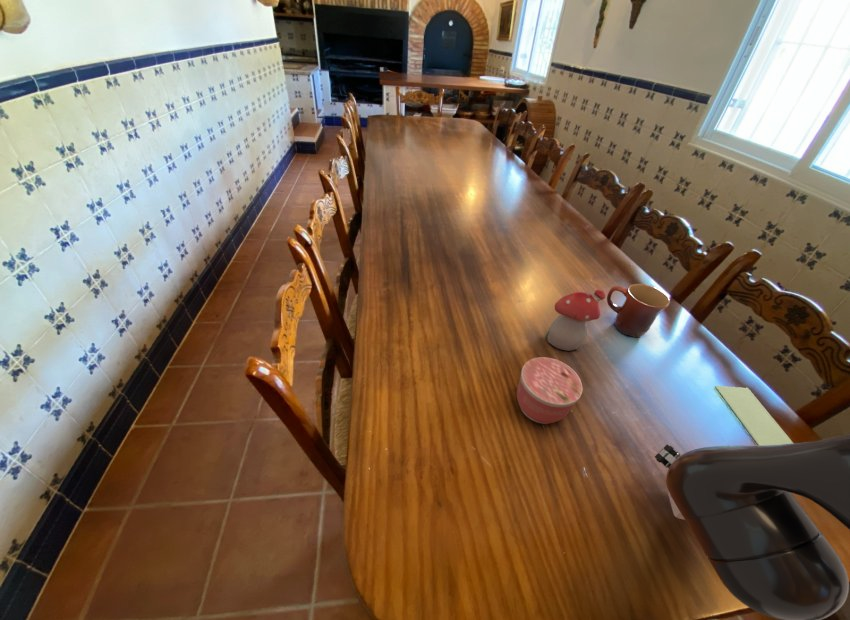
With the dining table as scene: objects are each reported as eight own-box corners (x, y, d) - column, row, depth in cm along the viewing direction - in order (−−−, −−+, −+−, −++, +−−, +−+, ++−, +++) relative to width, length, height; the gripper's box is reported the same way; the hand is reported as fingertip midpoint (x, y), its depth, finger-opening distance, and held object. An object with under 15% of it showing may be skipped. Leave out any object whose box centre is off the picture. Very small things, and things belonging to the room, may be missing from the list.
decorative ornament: (584, 339, 83) (610, 287, 73) (583, 358, 78) (611, 305, 68) (543, 327, 85) (563, 275, 75) (540, 346, 80) (562, 293, 70)
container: (537, 440, 62) (551, 414, 57) (500, 395, 69) (509, 368, 64) (579, 416, 66) (595, 390, 61) (540, 376, 73) (552, 349, 68)
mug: (651, 326, 88) (672, 293, 81) (644, 346, 82) (667, 313, 75) (601, 306, 93) (617, 274, 86) (592, 324, 87) (609, 290, 80)
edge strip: (808, 462, 62) (809, 462, 62) (769, 460, 62) (770, 460, 62) (747, 388, 74) (748, 387, 74) (714, 386, 74) (715, 385, 74)
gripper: (829, 539, 34) (783, 514, 47) (678, 424, 43) (675, 431, 56) (769, 592, 35) (741, 553, 48) (634, 469, 43) (642, 465, 57)
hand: (706, 488), depth 52 cm, fingers closed on salt shaker, 5 cm apart
